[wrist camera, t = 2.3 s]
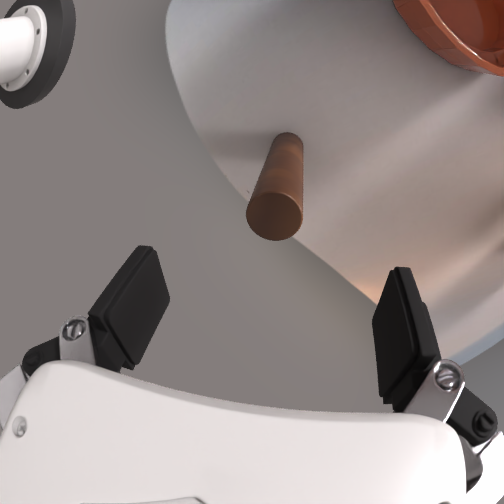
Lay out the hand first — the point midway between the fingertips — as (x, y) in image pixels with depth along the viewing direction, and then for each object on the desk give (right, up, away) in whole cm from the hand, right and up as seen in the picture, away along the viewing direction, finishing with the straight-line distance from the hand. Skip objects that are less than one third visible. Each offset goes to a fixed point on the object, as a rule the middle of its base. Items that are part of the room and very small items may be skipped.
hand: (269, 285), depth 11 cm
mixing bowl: (+19, +25, +1) cm, 32 cm away
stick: (+3, +11, +15) cm, 19 cm away
